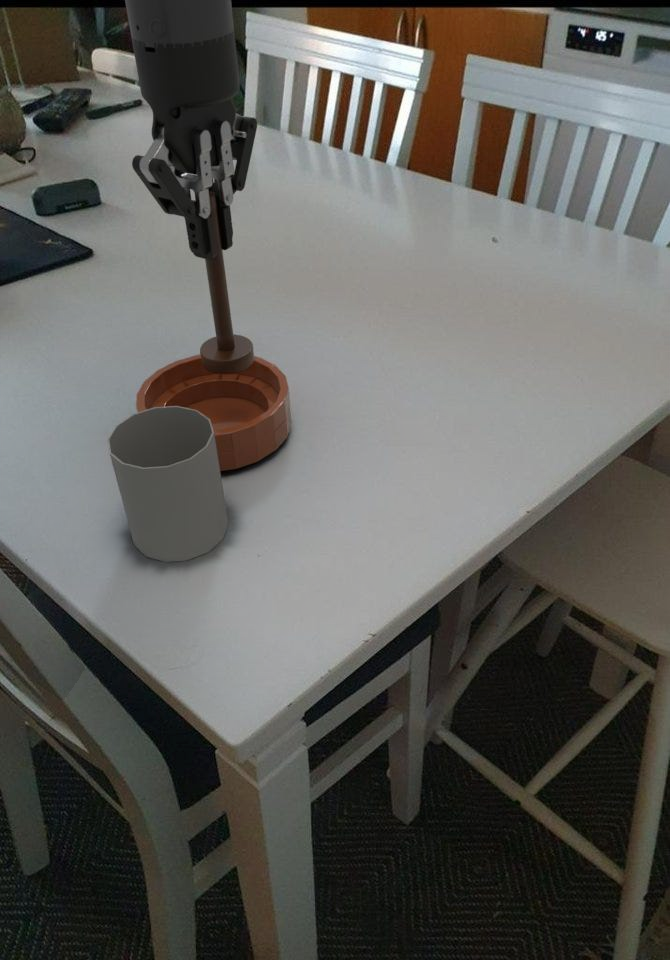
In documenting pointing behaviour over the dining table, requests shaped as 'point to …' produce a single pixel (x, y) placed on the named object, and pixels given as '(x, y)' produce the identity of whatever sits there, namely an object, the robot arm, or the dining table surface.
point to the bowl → (227, 405)
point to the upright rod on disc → (222, 317)
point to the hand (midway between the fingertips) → (212, 251)
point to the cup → (170, 482)
